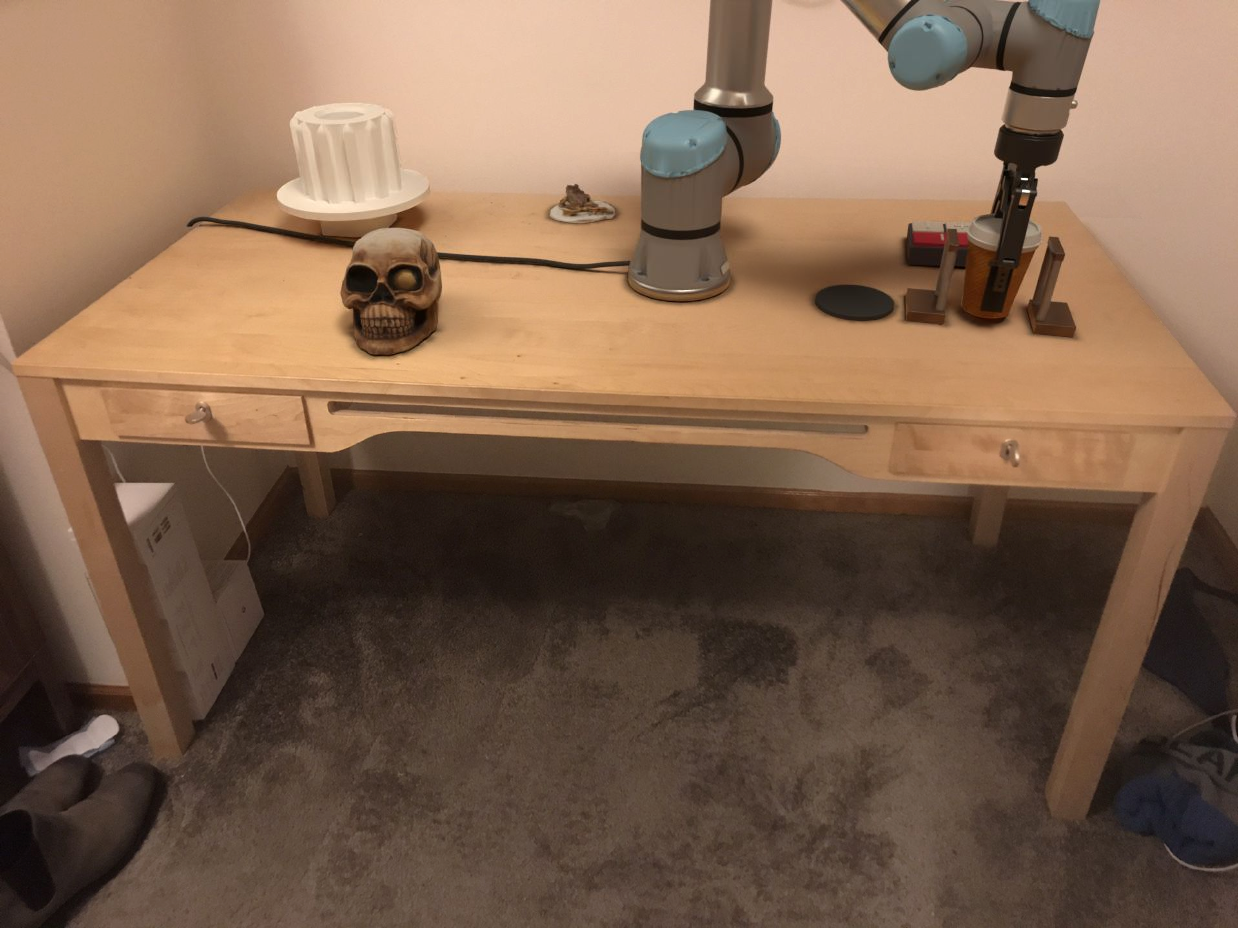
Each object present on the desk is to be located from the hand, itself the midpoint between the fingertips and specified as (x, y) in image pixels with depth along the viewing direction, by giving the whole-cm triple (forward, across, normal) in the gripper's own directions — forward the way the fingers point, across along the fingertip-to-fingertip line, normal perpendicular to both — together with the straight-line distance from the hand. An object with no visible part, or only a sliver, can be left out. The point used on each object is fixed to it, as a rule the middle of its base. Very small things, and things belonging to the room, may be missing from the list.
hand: (988, 297), depth 124 cm
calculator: (+3, +22, +3) cm, 22 cm away
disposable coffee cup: (+2, 0, 0) cm, 2 cm away
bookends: (+3, 0, 0) cm, 3 cm away
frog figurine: (+4, +28, +67) cm, 72 cm away
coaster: (+3, 0, +18) cm, 18 cm away
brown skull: (+4, -21, +79) cm, 82 cm away
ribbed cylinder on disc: (+4, +12, +102) cm, 102 cm away
